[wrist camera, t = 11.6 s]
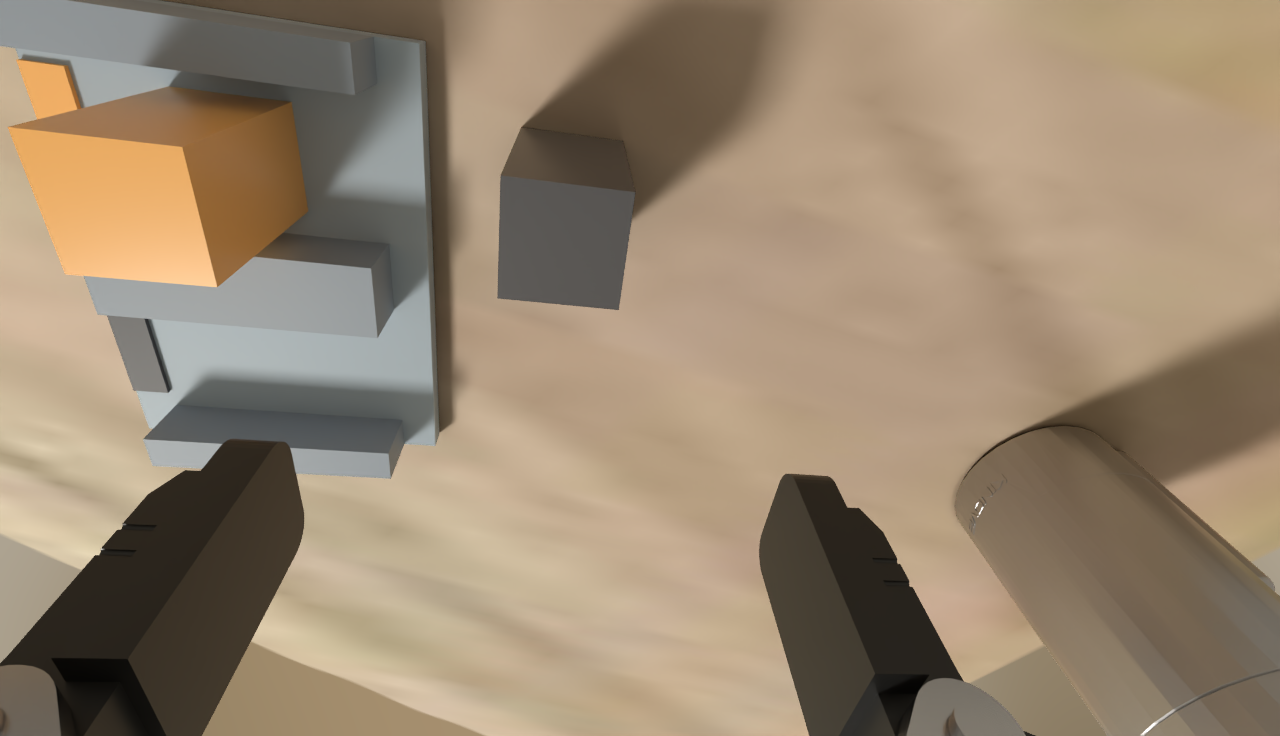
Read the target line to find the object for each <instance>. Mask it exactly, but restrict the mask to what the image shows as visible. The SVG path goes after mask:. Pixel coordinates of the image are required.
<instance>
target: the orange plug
mask: <svg viewBox="0 0 1280 736" xmlns="http://www.w3.org/2000/svg"><path fill="white" fill-rule="evenodd" d="M8 129H9V132H10V134H11V137H12V139H13V142H14V144H15V147H16V150H17V152H18V155H19V157H20V160H21V162H22V165H23V167H24V170H25V173H26V175H27V178H28V180H29V183H30V185H31V188H32V191H33V193H34V196H35V198H36V201H37V203H38V206H39V208H40V211H41V214H42V216H43V219H44V221H45V224H46V226H47V229H48V231H49V234H50V237H51V239H52V242H53V244H54V247H55V249H56V252H57V255H58V257H59V260H60V262H61V265H62V267H63V270H64V272H65V274H68V275H80V276H91V277H103V278H115V279H126V280H138V281H150V282H161V283H173V284H184V285H196V286H208V287H218V286H220V285H221V284H222V283H223V282H224V281H226V280H227V279H228V278H229V277H230V276H232V275H233V274H234V273H235V272H236V271H237V270H239V269H240V268H241V267H242V266H243V265H245V264H246V263H247V262H248V261H249V260H251V259H252V258H253V257H254V256H255V255H257V254H258V253H259V252H260V251H261V250H263V249H264V248H265V247H266V246H267V245H269V244H270V243H271V242H272V241H273V240H275V239H276V238H277V237H278V236H279V235H281V234H282V233H283V232H284V231H285V230H287V229H288V228H289V227H290V226H291V225H293V224H294V223H295V222H296V221H297V220H299V219H300V218H301V217H302V216H303V215H305V214H306V213H307V212H308V206H307V199H306V193H305V186H304V180H303V173H302V167H301V160H300V154H299V147H298V140H297V134H296V127H295V121H294V114H293V108H292V102H288V101H280V100H273V99H265V98H257V97H249V96H241V95H233V94H225V93H217V92H210V91H202V90H194V89H186V88H178V87H170V86H168V87H164V88H160V89H156V90H152V91H148V92H144V93H140V94H136V95H132V96H129V97H125V98H121V99H117V100H113V101H109V102H105V103H101V104H97V105H93V106H89V107H85V108H81V109H77V110H73V111H69V112H65V113H61V114H57V115H53V116H49V117H46V118H42V119H38V120H34V121H30V122H26V123H22V124H18V125H14V126H10V127H8Z"/></svg>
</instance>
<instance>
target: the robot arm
mask: <svg viewBox="0 0 1280 736" xmlns="http://www.w3.org/2000/svg"><path fill="white" fill-rule="evenodd" d="M955 510H956V516H957V518H958V520H959V521H960V523H961V525H962V526H963V528H964V529H965V531H966V532H967V534H968V535H969V537H970V538H971V539H972V541H973V542H974V544H975V545H976V547H977V548H978V549H979V551H980V552H981V554H982V555H983V557H984V558H985V560H986V561H987V562H988V564H989V565H990V567H991V568H992V570H993V571H994V573H995V574H996V576H997V577H998V579H999V580H1000V582H1001V583H1002V585H1003V586H1004V587H1005V589H1006V590H1007V592H1008V593H1009V595H1010V596H1011V598H1012V599H1013V600H1014V602H1015V603H1016V605H1017V606H1018V608H1019V609H1020V611H1021V612H1022V613H1023V615H1024V616H1025V618H1026V619H1027V621H1028V622H1029V623H1030V625H1031V626H1032V628H1033V629H1034V631H1035V632H1036V634H1037V635H1038V636H1039V638H1040V639H1041V641H1042V642H1043V644H1044V645H1045V647H1046V648H1047V649H1048V651H1049V652H1050V654H1051V655H1052V657H1053V658H1054V659H1055V661H1056V662H1057V664H1058V665H1059V667H1060V668H1061V669H1062V671H1063V672H1064V674H1065V675H1066V676H1067V678H1068V680H1069V681H1070V683H1071V684H1072V685H1073V687H1074V688H1075V690H1076V691H1077V693H1078V694H1079V695H1080V697H1081V698H1082V700H1083V701H1084V703H1085V704H1086V705H1087V707H1088V708H1089V710H1090V711H1091V713H1092V714H1093V716H1094V717H1095V719H1096V720H1097V721H1098V723H1099V724H1100V726H1101V727H1102V729H1103V730H1104V731H1105V733H1106V734H1107V736H1280V596H1279V595H1278V594H1277V593H1276V592H1275V586H1274V584H1273V582H1272V581H1271V580H1270V578H1268V577H1267V576H1266V575H1265V574H1264V573H1263V572H1261V571H1260V570H1259V569H1258V568H1257V567H1256V566H1255V565H1254V564H1252V563H1251V562H1250V561H1249V560H1248V559H1247V558H1246V557H1244V556H1243V555H1242V554H1241V553H1240V552H1239V551H1238V550H1236V549H1235V548H1234V547H1233V546H1232V545H1231V544H1230V543H1228V542H1227V541H1226V540H1225V539H1224V538H1223V537H1221V536H1220V535H1219V534H1218V533H1217V532H1216V531H1215V530H1213V529H1212V528H1211V527H1210V526H1209V525H1208V524H1207V523H1205V522H1204V521H1203V520H1202V519H1201V518H1200V517H1199V516H1197V515H1196V514H1195V513H1194V512H1193V511H1192V510H1190V509H1189V508H1188V507H1187V506H1186V505H1185V504H1184V503H1182V502H1181V501H1180V500H1179V499H1178V498H1177V497H1176V496H1174V495H1173V494H1172V493H1171V492H1170V491H1169V490H1168V489H1166V488H1165V487H1164V486H1163V485H1162V484H1161V483H1160V482H1158V481H1157V480H1156V479H1155V478H1154V477H1153V476H1151V475H1150V474H1149V473H1148V472H1147V471H1146V470H1145V469H1143V468H1142V467H1141V466H1140V465H1139V464H1138V463H1137V462H1135V461H1134V460H1133V459H1132V458H1131V457H1130V456H1129V455H1127V454H1126V453H1125V452H1123V451H1116V450H1115V449H1114V448H1112V447H1111V446H1110V445H1109V444H1108V443H1107V442H1106V441H1104V440H1103V439H1102V438H1101V437H1099V436H1098V435H1097V434H1095V433H1094V432H1092V431H1089V430H1086V429H1083V428H1080V427H1071V426H1057V427H1047V428H1043V429H1039V430H1035V431H1031V432H1028V433H1025V434H1023V435H1020V436H1018V437H1015V438H1013V439H1011V440H1009V441H1007V442H1006V443H1004V444H1002V445H1000V446H998V447H997V448H995V449H994V450H993V451H991V452H990V453H989V454H987V455H986V456H985V457H983V458H982V459H981V460H980V461H979V462H978V463H977V464H976V465H975V466H974V467H973V468H972V469H971V470H970V471H969V473H968V474H967V476H966V477H965V479H964V480H963V481H962V483H961V485H960V488H959V490H958V492H957V495H956V501H955ZM303 529H304V510H303V505H302V500H301V496H300V491H299V486H298V481H297V476H296V472H295V467H294V462H293V457H292V453H291V449H290V447H289V445H288V444H287V443H286V442H283V441H266V440H250V439H229V440H227V441H225V442H224V443H223V444H222V445H221V446H220V447H219V449H218V450H217V451H216V452H215V454H214V455H213V456H212V457H211V459H210V460H209V461H208V462H207V464H206V465H205V466H204V467H203V469H202V470H201V471H188V470H185V471H183V472H182V473H180V474H179V475H177V476H176V477H174V478H173V479H171V480H170V481H168V482H166V483H165V484H163V485H162V486H160V487H159V488H157V489H156V490H154V491H153V492H151V493H150V494H148V495H147V496H146V497H145V499H144V500H143V501H142V502H141V503H140V504H139V505H138V507H137V508H136V509H135V510H134V511H133V512H132V514H131V515H130V516H129V517H128V518H127V519H126V520H125V522H124V523H123V527H122V529H121V530H117V531H116V532H115V533H114V534H113V535H112V537H111V538H110V539H109V540H108V541H107V542H106V543H105V545H104V546H103V547H102V548H101V553H100V555H95V556H94V557H93V558H92V560H91V561H90V562H89V563H88V564H87V565H86V566H85V568H84V569H83V570H82V571H81V572H80V573H79V575H78V576H77V577H76V578H75V579H74V580H73V581H72V583H71V584H70V585H69V586H68V587H67V588H66V590H65V591H64V592H63V593H62V594H61V596H59V598H58V599H57V600H56V601H55V602H54V603H53V604H52V606H51V607H50V608H49V609H48V610H47V611H46V612H45V614H44V615H43V616H42V617H41V618H40V619H39V621H38V622H37V623H36V624H35V625H34V626H33V628H32V629H31V630H30V631H29V632H28V633H27V635H26V636H25V637H24V638H23V639H22V640H21V641H20V643H19V644H18V645H17V646H16V647H15V648H14V649H13V650H12V652H11V653H10V654H9V655H8V656H7V657H6V658H5V659H4V660H3V661H2V662H1V663H0V736H202V734H203V732H204V730H205V728H206V726H207V725H208V723H209V721H210V719H211V717H212V715H213V713H214V711H215V709H216V707H217V705H218V703H219V701H220V700H221V698H222V696H223V694H224V692H225V690H226V688H227V686H228V684H229V682H230V680H231V678H232V676H233V674H234V673H235V670H236V669H237V667H238V665H239V663H240V661H241V659H242V657H243V655H244V653H245V651H246V649H247V647H248V646H249V644H250V642H251V640H252V638H253V636H254V634H255V632H256V630H257V628H258V626H259V624H260V622H261V620H262V618H263V617H264V615H265V613H266V611H267V609H268V607H269V605H270V603H271V601H272V599H273V597H274V595H275V593H276V591H277V590H278V588H279V586H280V584H281V582H282V580H283V578H284V576H285V574H286V572H287V570H288V568H289V566H290V564H291V563H292V561H293V559H294V557H295V555H296V553H297V551H298V548H299V545H300V542H301V539H302V534H303ZM759 558H760V567H761V572H762V575H763V579H764V582H765V586H766V589H767V592H768V596H769V599H770V603H771V606H772V610H773V613H774V616H775V620H776V623H777V627H778V630H779V633H780V637H781V640H782V644H783V647H784V651H785V654H786V657H787V661H788V664H789V668H790V671H791V674H792V678H793V681H794V685H795V688H796V691H797V695H798V698H799V702H800V705H801V709H802V712H803V715H804V719H805V722H806V726H807V729H808V732H809V736H1035V735H1032V734H1030V733H1027V732H1025V731H1023V730H1022V728H1021V727H1020V725H1019V724H1018V723H1017V721H1016V720H1015V719H1014V718H1013V716H1012V715H1011V714H1010V713H1009V712H1008V710H1006V709H1005V708H1004V707H1003V706H1002V705H1001V704H1000V703H999V702H998V701H997V700H995V699H994V698H993V697H992V696H990V695H989V694H987V693H986V692H984V691H983V690H981V689H979V688H977V687H975V686H973V685H971V684H969V683H966V682H964V681H963V679H962V678H961V676H960V674H959V673H958V671H957V669H956V667H955V665H954V663H953V662H952V660H951V658H950V656H949V654H948V652H947V650H946V649H945V647H944V645H943V643H942V641H941V639H940V637H939V636H938V634H937V632H936V630H935V628H934V626H933V624H932V622H931V621H930V619H929V617H928V615H927V613H926V611H925V609H924V608H923V606H922V604H921V602H920V600H919V598H918V596H917V595H916V593H915V591H914V589H913V587H910V586H909V580H908V578H907V576H906V574H905V572H904V570H903V568H902V567H901V565H900V564H897V557H896V555H895V554H894V552H893V550H892V548H891V546H890V544H889V542H888V541H887V539H886V537H885V535H884V533H883V532H882V531H881V530H880V529H879V528H878V527H877V526H876V525H875V524H874V523H873V522H872V521H871V520H870V519H869V518H868V517H867V516H866V515H865V514H864V513H863V512H862V511H861V510H860V509H859V508H847V506H846V504H845V502H844V500H843V498H842V496H841V494H840V492H839V490H838V488H837V486H836V484H835V482H834V481H833V479H832V478H830V477H828V476H816V475H800V474H785V475H784V476H783V477H782V479H781V480H780V483H779V486H778V489H777V491H776V494H775V497H774V500H773V503H772V506H771V509H770V512H769V514H768V517H767V520H766V523H765V526H764V529H763V532H762V535H761V539H760V548H759Z"/></svg>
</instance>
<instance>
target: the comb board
mask: <svg viewBox="0 0 1280 736" xmlns="http://www.w3.org/2000/svg"><path fill="white" fill-rule="evenodd" d="M0 46H4V47H11V48H16V51H17V54H18V57H19V59H18V60H16V61H17V63H18V66H19V69H20V72H21V75H22V77H23V80H24V83H25V86H26V89H27V92H28V94H29V97H30V100H31V103H32V106H33V108H34V111H35V114H36V117H37V120H38V119H42V118H46V117H49V116H53V115H57V114H61V113H65V112H69V111H73V110H77V109H81V108H85V107H89V106H93V105H97V104H101V103H105V102H109V101H113V100H117V99H121V98H125V97H129V96H132V95H136V94H140V93H144V92H148V91H152V90H156V89H160V88H164V87H168V86H170V87H178V88H186V89H194V90H202V91H210V92H217V93H225V94H233V95H241V96H249V97H257V98H265V99H273V100H280V101H288V102H292V108H293V114H294V121H295V127H296V134H297V140H298V147H299V154H300V160H301V167H302V173H303V180H304V186H305V193H306V199H307V206H308V212H307V213H306V214H305V215H303V216H302V217H301V218H300V219H299V220H297V221H296V222H295V223H294V224H293V225H291V226H290V227H289V228H288V229H287V230H285V231H284V232H283V233H282V234H281V235H279V236H278V237H277V238H276V239H275V240H273V241H272V242H271V243H270V244H269V245H267V246H266V247H265V248H264V249H263V250H261V251H260V252H259V253H258V254H257V255H255V256H254V257H253V258H252V259H251V260H249V261H248V262H247V263H246V264H245V265H243V266H242V267H241V268H240V269H239V270H237V271H236V272H235V273H234V274H233V275H232V276H230V277H229V278H228V279H227V280H226V281H224V282H223V283H222V284H221V285H220V286H218V287H208V286H196V285H184V284H173V283H161V282H150V281H138V280H126V279H115V278H103V277H91V276H84V278H85V281H86V284H87V287H88V289H89V292H90V295H91V298H92V300H93V303H94V306H95V309H96V311H97V314H98V315H107V317H108V320H109V322H110V325H111V328H112V331H113V334H114V337H115V339H116V342H117V345H118V348H119V351H120V353H121V356H122V359H123V362H124V365H125V367H126V370H127V373H128V376H129V379H130V382H131V384H132V387H133V390H134V391H136V392H137V394H138V397H139V400H140V403H141V406H142V409H143V411H144V414H145V417H146V420H147V423H148V426H149V428H153V429H152V431H151V432H150V433H149V434H148V435H147V436H146V437H145V438H144V439H143V440H144V443H145V446H146V449H147V451H148V454H149V457H150V460H151V462H152V465H153V466H165V467H184V468H203V467H204V466H205V465H206V464H207V462H208V461H209V460H210V459H211V457H212V456H213V455H214V454H215V452H216V451H217V450H218V449H219V447H220V446H221V445H222V444H223V443H224V442H225V441H227V440H229V439H250V440H266V441H283V442H286V443H287V444H288V445H289V447H290V449H291V453H292V457H293V462H294V467H295V472H296V474H315V475H334V476H352V477H371V478H390V479H391V476H392V474H393V471H394V469H395V466H396V464H397V461H398V459H399V456H400V453H401V451H402V448H403V446H404V444H414V445H431V446H435V445H436V442H437V439H438V436H439V408H438V379H437V351H436V323H435V294H434V266H433V238H432V209H431V181H430V153H429V124H428V96H427V67H426V41H422V40H416V39H409V38H403V37H396V36H390V35H383V34H377V33H370V32H363V31H357V30H350V29H344V28H337V27H331V26H324V25H318V24H311V23H305V22H298V21H292V20H285V19H279V18H272V17H266V16H259V15H253V14H246V13H240V12H233V11H226V10H220V9H213V8H207V7H200V6H194V5H187V4H181V3H174V2H168V1H161V0H0Z"/></svg>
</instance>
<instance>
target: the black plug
mask: <svg viewBox="0 0 1280 736" xmlns="http://www.w3.org/2000/svg"><path fill="white" fill-rule="evenodd" d="M634 199H635V188H634V184H633V180H632V176H631V172H630V168H629V164H628V160H627V156H626V151H625V147H624V143H623V141H619V140H612V139H605V138H598V137H590V136H583V135H576V134H568V133H561V132H554V131H547V130H539V129H532V128H525V127H521V129H520V132H519V134H518V136H517V139H516V141H515V143H514V146H513V148H512V150H511V153H510V155H509V157H508V160H507V162H506V164H505V167H504V169H503V171H502V173H501V182H500V222H499V261H498V298H500V299H511V300H521V301H531V302H542V303H552V304H562V305H573V306H583V307H593V308H604V309H614V310H619V304H620V297H621V290H622V283H623V276H624V269H625V262H626V255H627V248H628V241H629V234H630V227H631V220H632V213H633V206H634Z"/></svg>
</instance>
